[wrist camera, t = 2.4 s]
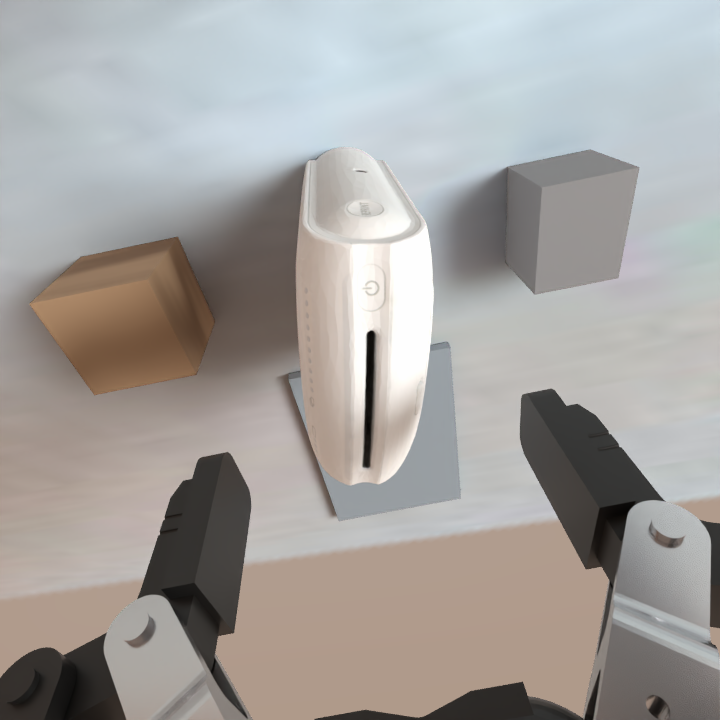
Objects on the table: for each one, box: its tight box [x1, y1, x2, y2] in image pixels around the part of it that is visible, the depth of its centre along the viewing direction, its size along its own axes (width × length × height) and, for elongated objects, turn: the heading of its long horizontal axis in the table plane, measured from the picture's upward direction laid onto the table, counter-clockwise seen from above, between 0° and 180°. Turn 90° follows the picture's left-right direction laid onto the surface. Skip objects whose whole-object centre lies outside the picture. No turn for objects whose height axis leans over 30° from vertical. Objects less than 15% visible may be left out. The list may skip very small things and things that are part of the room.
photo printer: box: [296, 147, 434, 485], centre depth 18 cm, size 10×4×12 cm, turn 0°
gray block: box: [505, 150, 639, 294], centre depth 21 cm, size 5×4×4 cm
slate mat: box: [288, 342, 461, 521], centre depth 31 cm, size 15×10×1 cm, turn 11°
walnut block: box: [30, 237, 215, 395], centre depth 21 cm, size 5×5×5 cm
